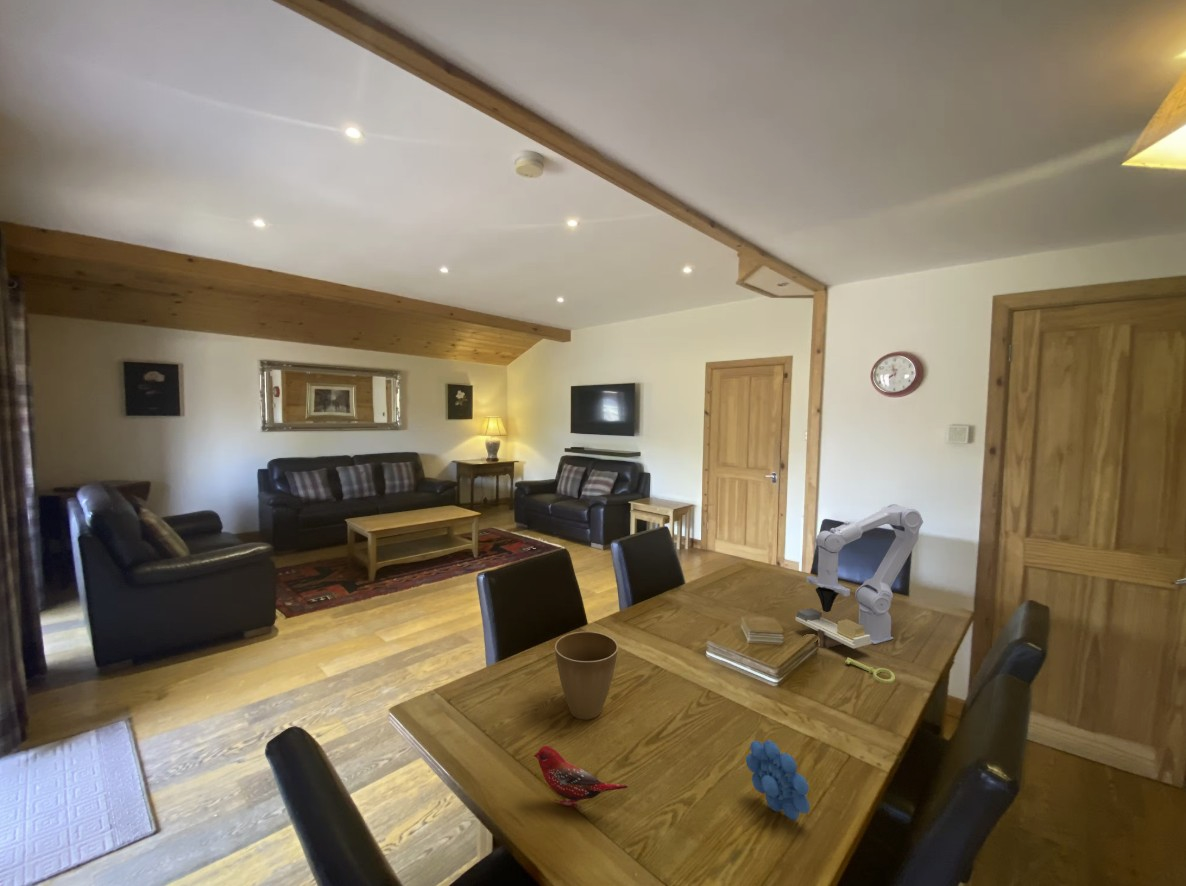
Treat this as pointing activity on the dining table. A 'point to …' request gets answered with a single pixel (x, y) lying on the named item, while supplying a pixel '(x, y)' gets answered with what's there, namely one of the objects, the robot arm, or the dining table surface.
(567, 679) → the plant pot
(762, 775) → the blue flower
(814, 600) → the dining table surface
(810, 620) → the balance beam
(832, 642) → the fulcrum stand
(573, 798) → the decorative bird figurine
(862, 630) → the block
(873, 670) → the key
